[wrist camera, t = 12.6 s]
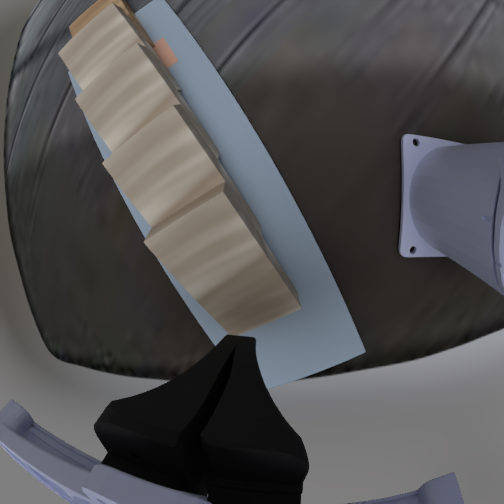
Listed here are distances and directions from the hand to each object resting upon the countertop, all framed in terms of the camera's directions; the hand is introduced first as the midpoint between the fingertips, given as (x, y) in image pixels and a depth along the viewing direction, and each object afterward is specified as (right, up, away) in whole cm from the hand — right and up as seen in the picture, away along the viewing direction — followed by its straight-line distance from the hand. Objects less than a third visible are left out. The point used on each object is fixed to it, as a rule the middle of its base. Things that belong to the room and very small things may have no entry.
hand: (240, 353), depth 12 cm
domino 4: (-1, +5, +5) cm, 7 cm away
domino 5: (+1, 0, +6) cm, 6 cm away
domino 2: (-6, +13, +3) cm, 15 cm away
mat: (-3, +9, +5) cm, 10 cm away
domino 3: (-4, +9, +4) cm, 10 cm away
